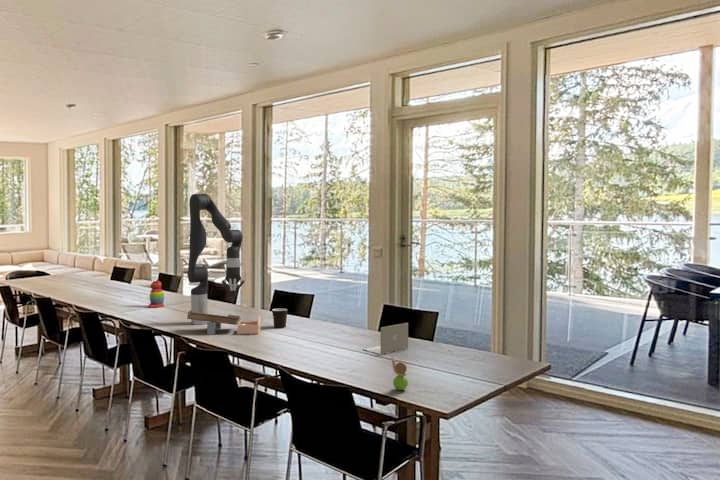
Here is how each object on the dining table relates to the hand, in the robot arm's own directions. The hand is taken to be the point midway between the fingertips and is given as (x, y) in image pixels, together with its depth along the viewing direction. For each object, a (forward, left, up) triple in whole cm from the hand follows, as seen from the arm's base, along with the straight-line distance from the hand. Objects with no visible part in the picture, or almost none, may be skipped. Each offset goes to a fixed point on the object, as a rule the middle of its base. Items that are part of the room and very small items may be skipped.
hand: (233, 297), depth 320 cm
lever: (+4, -10, -12) cm, 16 cm away
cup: (+8, +9, -18) cm, 22 cm away
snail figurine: (+111, +78, -18) cm, 137 cm away
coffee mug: (-7, +25, -18) cm, 32 cm away
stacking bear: (-79, -65, -18) cm, 104 cm away
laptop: (+49, +79, -19) cm, 95 cm away
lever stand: (+4, -10, -18) cm, 21 cm away
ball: (+8, +7, -15) cm, 18 cm away
